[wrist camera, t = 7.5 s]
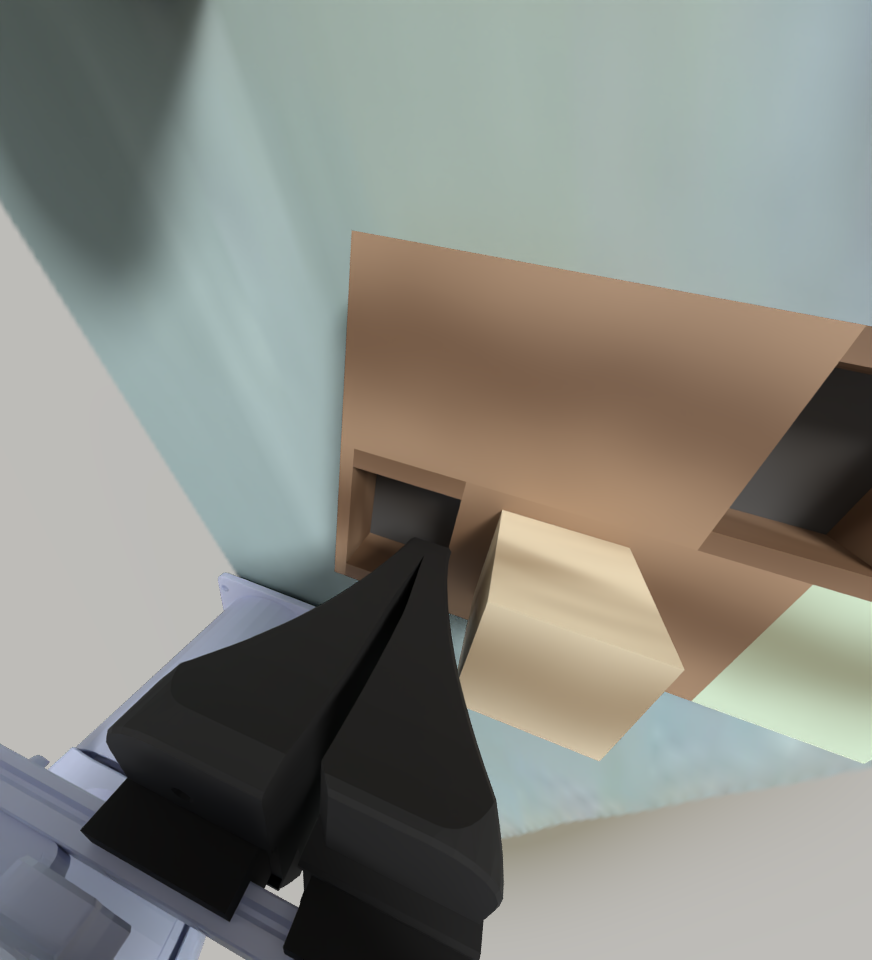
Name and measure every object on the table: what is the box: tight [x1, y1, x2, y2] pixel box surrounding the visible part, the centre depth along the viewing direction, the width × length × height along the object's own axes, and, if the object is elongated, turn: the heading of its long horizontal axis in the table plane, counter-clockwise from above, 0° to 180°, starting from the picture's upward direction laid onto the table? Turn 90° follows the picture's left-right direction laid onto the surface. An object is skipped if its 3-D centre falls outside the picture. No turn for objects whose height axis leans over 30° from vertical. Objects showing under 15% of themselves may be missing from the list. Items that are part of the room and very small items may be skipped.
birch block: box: [458, 510, 685, 761], centre depth 9 cm, size 4×4×4 cm
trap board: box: [335, 231, 872, 764], centre depth 11 cm, size 12×20×2 cm, turn 79°
